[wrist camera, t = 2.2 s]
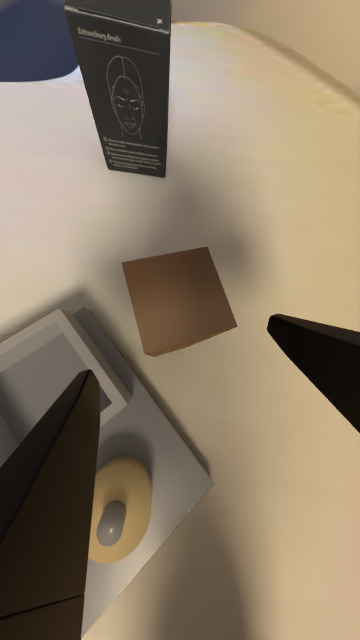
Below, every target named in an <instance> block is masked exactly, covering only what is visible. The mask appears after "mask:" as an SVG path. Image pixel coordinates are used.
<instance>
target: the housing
mask: <svg viewBox="0 0 360 640" xmlns="http://www.w3.org/2000/svg"><path fill="white" fill-rule="evenodd" d="M87 369H91V370H92V371H93V373H94V374H95V376H96V377H97V379H98V381H99V384H100V433H99V444H98V455H97V466H96V477H95V488H94V499H93V510H92V521H91V532H90V543H89V554H88V565H87V576H86V587H85V593H84V595H85V600H84V611H83V622H82V633H81V638H82V637H83V636H84V635H85V633H86V632H87V631H88V630H89V629H90V628H91V626H92V625H93V624H94V623H95V622H96V621H97V619H98V618H99V617H100V616H101V615H102V614H103V612H104V611H105V610H106V609H107V608H108V607H109V605H110V604H111V603H112V602H113V601H114V600H115V599H116V597H117V596H118V595H119V594H120V593H121V592H122V590H123V589H124V588H125V587H126V586H127V585H128V583H129V582H130V581H131V580H132V579H133V578H134V576H135V575H136V574H137V573H138V572H139V571H140V569H141V568H142V567H143V566H144V565H145V564H146V562H147V561H148V560H149V559H150V558H151V557H152V555H153V554H154V553H155V552H156V551H157V550H158V549H159V547H160V546H161V545H162V544H163V543H164V542H165V540H166V539H167V538H168V537H169V536H170V535H171V533H172V532H173V531H174V530H175V529H176V528H177V526H178V525H179V524H180V523H181V522H182V521H183V519H184V518H185V517H186V516H187V515H188V514H189V512H190V511H191V510H192V509H193V508H194V507H195V505H196V504H197V503H198V502H199V501H200V500H201V498H202V497H203V496H204V495H205V494H206V493H207V492H208V490H209V489H210V488H211V487H212V486H213V485H214V483H213V480H212V478H211V476H210V475H209V473H208V472H207V470H206V469H205V468H204V466H203V465H202V464H201V462H200V461H199V460H198V458H197V457H196V455H195V454H194V453H193V451H192V450H191V449H190V447H189V446H188V445H187V443H186V442H185V440H184V439H183V438H182V436H181V435H180V434H179V432H178V431H177V430H176V428H175V427H174V425H173V424H172V423H171V421H170V420H169V419H168V417H167V416H166V415H165V413H164V412H163V410H162V409H161V408H160V406H159V405H158V404H157V402H156V401H155V400H154V398H153V397H152V395H151V394H150V393H149V391H148V390H147V389H146V387H145V386H144V385H143V383H142V382H141V380H140V379H139V378H138V376H137V375H136V374H135V372H134V371H133V370H132V368H131V367H130V365H129V364H128V363H127V361H126V360H125V359H124V357H123V356H122V355H121V353H120V352H119V351H118V349H117V348H116V346H115V345H114V344H113V342H112V341H111V340H110V338H109V337H108V336H107V334H106V333H105V331H104V330H103V329H102V327H101V326H100V325H99V323H98V322H97V321H96V319H95V318H94V316H93V315H92V314H91V312H90V311H89V310H88V309H86V308H85V307H84V308H83V309H81V310H80V311H78V312H76V313H75V314H73V315H72V314H70V313H68V312H66V311H64V310H62V309H60V308H59V309H57V310H55V311H54V312H52V313H50V314H48V315H47V316H45V317H43V318H42V319H40V320H38V321H37V322H35V323H33V324H32V325H30V326H28V327H27V328H25V329H23V330H22V331H20V332H18V333H17V334H15V335H13V336H12V337H10V338H8V339H7V340H5V341H3V342H2V343H0V467H1V466H2V464H3V463H4V462H5V461H6V460H7V458H8V457H9V456H10V455H11V454H12V452H13V451H14V450H15V449H16V447H17V446H18V445H19V444H20V443H21V441H22V440H23V439H24V438H25V437H26V435H27V434H28V433H29V432H30V431H31V429H32V428H33V427H34V426H35V425H36V423H37V422H38V421H39V420H40V419H41V417H42V416H43V415H44V414H45V413H46V411H47V410H48V409H49V408H50V407H51V405H52V404H53V403H54V402H55V401H56V399H57V398H58V397H59V396H60V395H61V393H62V392H63V391H64V390H65V389H66V387H67V386H68V385H69V384H70V383H71V381H72V380H73V379H74V378H75V377H76V375H77V374H78V373H79V372H81V371H84V370H87Z"/></svg>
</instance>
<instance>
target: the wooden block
mask: <svg viewBox="0 0 360 640" xmlns="http://www.w3.org/2000/svg"><path fill="white" fill-rule="evenodd" d="M122 266H123V270H124V274H125V278H126V281H127V285H128V289H129V293H130V297H131V301H132V305H133V309H134V313H135V317H136V321H137V325H138V329H139V333H140V337H141V341H142V345H143V349H144V353H145V354H146V355H149V356H153V357H155V356H158V355H161V354H165V353H168V352H171V351H175V350H178V349H181V348H184V347H188V346H191V345H193V344H196V343H198V342H201V341H203V340H206V339H208V338H210V337H213V336H215V335H218V334H220V333H223V332H225V331H228V330H230V329H233V328H235V327H237V324H236V321H235V319H234V316H233V313H232V311H231V308H230V305H229V303H228V300H227V297H226V295H225V292H224V289H223V287H222V284H221V281H220V279H219V276H218V273H217V271H216V268H215V265H214V263H213V260H212V257H211V255H210V252H209V249H208V247H203V248H198V249H192V250H187V251H181V252H176V253H171V254H165V255H160V256H154V257H149V258H144V259H138V260H133V261H127V262H122Z"/></svg>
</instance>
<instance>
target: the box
mask: <svg viewBox="0 0 360 640" xmlns="http://www.w3.org/2000/svg"><path fill="white" fill-rule="evenodd" d="M64 11H65V15H66V19H67V23H68V26H69V30H70V34H71V37H72V41H73V45H74V48H75V52H76V55H77V59H78V63H79V66H80V70H81V73H82V77H83V80H84V84H85V88H86V91H87V95H88V98H89V102H90V106H91V110H92V114H93V117H94V120H95V124H96V128H97V131H98V135H99V138H100V142H101V146H102V149H103V153H104V156H105V160H106V164H107V167H108V169H109V170H117V171H124V172H131V173H138V174H145V175H153V176H159V177H165V172H166V154H167V131H168V101H169V68H170V37H171V0H66V1H65V3H64Z"/></svg>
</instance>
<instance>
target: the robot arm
mask: <svg viewBox="0 0 360 640" xmlns="http://www.w3.org/2000/svg"><path fill="white" fill-rule="evenodd" d="M267 331H268V333H269V334H270V335H271V337H272V338H273V339H274V340H275V342H276V343H277V344H278V346H279V347H280V348H281V349H282V351H283V352H284V353H285V354H286V355H287V357H288V358H289V359H290V360H291V361H292V362H293V363H294V364H295V365H296V366H297V367H298V368H299V369H300V370H301V371H302V373H303V374H304V375H305V376H306V377H307V378H308V379H309V380H310V381H311V382H312V383H313V384H314V385H315V386H316V387H317V388H318V389H319V391H320V392H321V393H322V394H323V395H324V396H325V397H326V398H327V399H328V400H329V401H330V402H331V403H332V404H333V405H334V406H335V408H336V409H337V410H338V411H339V412H340V413H341V414H342V415H343V416H344V417H345V418H346V419H347V420H348V421H349V422H350V423H351V424H352V426H353V427H354V428H355V429H356V430H357V431H358V432H359V433H360V332H357V331H353V330H348V329H344V328H339V327H335V326H331V325H326V324H322V323H317V322H313V321H309V320H304V319H300V318H295V317H291V316H287V315H282V314H275V315H272V316H270V318H269V322H268V326H267ZM99 433H100V384H99V381H98V379H97V377H96V376H95V374H94V373H93V371H92V370H91V369H87V370H84V371H81V372H79V373H78V374H77V375H76V377H75V378H74V379H73V380H72V381H71V383H70V384H69V385H68V386H67V387H66V389H65V390H64V391H63V392H62V393H61V395H60V396H59V397H58V398H57V399H56V401H55V402H54V403H53V404H52V405H51V407H50V408H49V409H48V410H47V411H46V413H45V414H44V415H43V416H42V417H41V419H40V420H39V421H38V422H37V423H36V425H35V426H34V427H33V428H32V429H31V431H30V432H29V433H28V434H27V435H26V437H25V438H24V439H23V440H22V441H21V443H20V444H19V445H18V446H17V447H16V449H15V450H14V451H13V452H12V454H11V455H10V456H9V457H8V458H7V460H6V461H5V462H4V463H3V464H2V466H1V467H0V640H81V633H82V622H83V611H84V600H85V595H84V593H85V587H86V576H87V565H88V554H89V543H90V532H91V521H92V510H93V499H94V488H95V477H96V466H97V455H98V444H99Z"/></svg>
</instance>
